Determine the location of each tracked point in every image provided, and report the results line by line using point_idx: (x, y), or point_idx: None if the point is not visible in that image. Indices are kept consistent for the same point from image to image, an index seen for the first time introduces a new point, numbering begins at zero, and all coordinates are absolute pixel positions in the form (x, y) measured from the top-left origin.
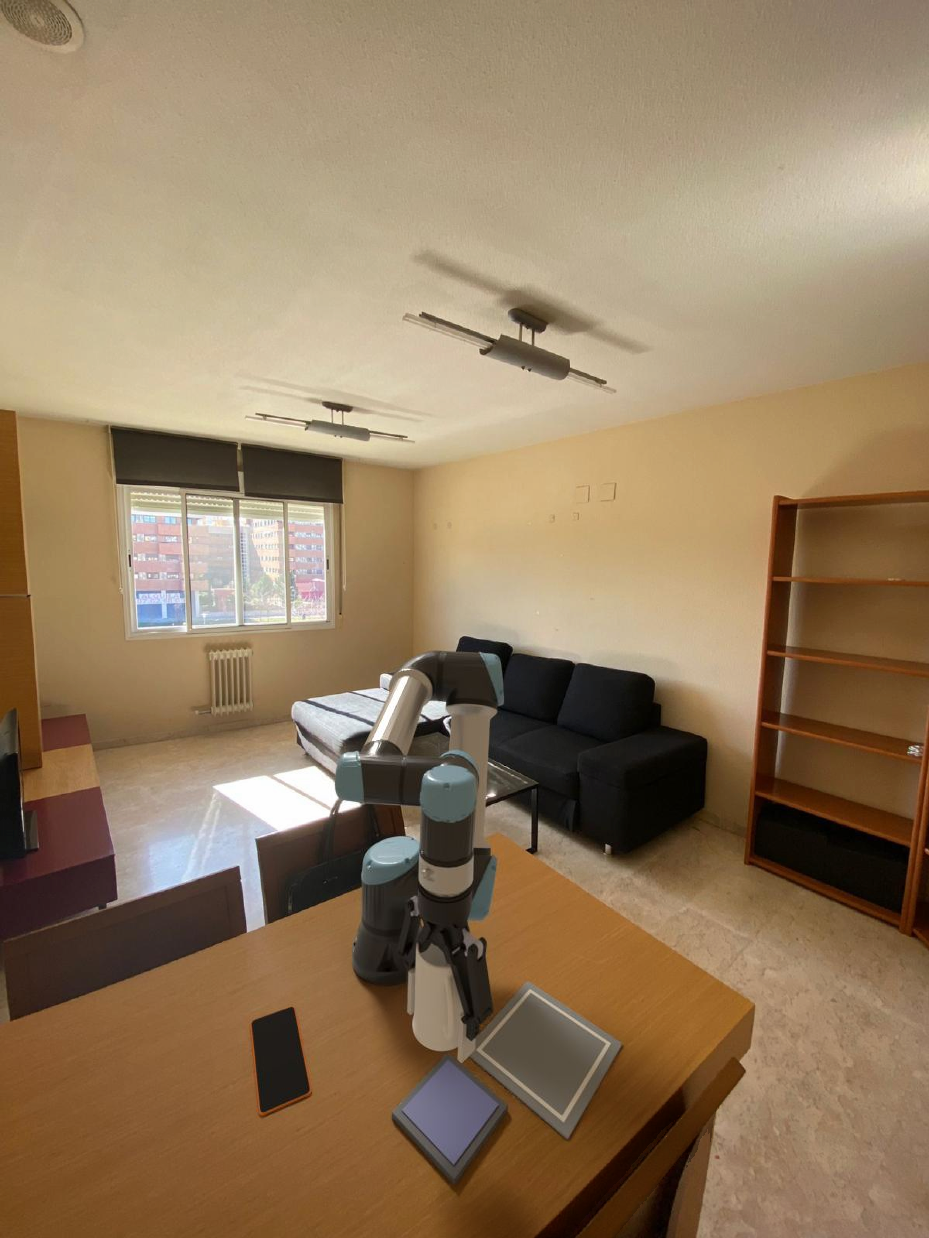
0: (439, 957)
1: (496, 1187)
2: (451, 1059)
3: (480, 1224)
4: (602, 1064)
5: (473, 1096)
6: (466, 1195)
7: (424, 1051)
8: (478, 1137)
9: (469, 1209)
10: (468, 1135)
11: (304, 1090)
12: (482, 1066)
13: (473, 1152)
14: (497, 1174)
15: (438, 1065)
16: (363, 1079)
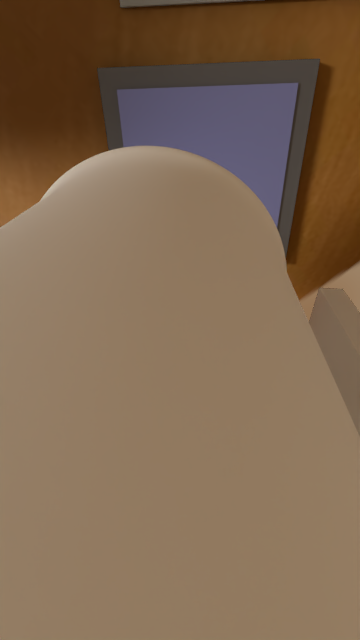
0: None
1: (350, 212)
2: (121, 77)
3: (344, 267)
4: None
5: (232, 120)
6: (306, 255)
7: (50, 106)
8: (288, 182)
9: (320, 265)
10: (270, 198)
11: None
12: (193, 2)
13: (293, 211)
14: (344, 194)
15: (111, 122)
16: None
